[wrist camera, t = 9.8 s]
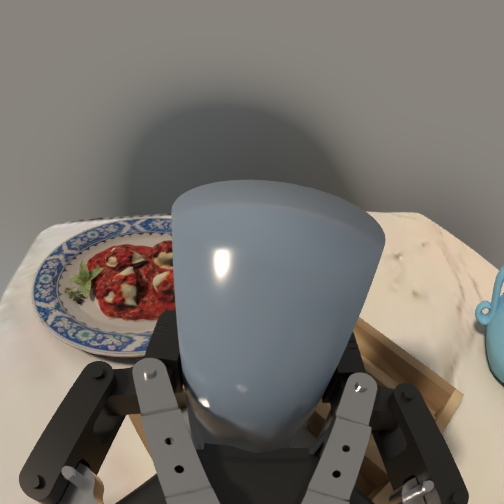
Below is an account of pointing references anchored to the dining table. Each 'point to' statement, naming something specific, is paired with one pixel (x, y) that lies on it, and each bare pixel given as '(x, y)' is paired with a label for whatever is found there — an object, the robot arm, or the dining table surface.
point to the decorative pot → (494, 327)
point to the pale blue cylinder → (265, 304)
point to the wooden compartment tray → (385, 374)
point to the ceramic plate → (108, 286)
